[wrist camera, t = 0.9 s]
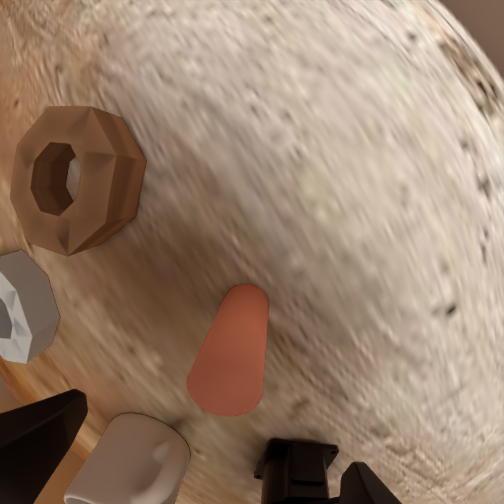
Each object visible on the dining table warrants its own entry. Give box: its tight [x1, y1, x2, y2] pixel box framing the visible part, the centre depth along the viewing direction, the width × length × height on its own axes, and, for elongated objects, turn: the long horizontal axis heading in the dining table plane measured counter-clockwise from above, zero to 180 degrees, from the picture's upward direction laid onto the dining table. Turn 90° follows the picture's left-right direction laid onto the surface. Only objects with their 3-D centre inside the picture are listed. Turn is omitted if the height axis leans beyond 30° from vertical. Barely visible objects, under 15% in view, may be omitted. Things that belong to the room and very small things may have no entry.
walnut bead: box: [10, 106, 147, 257], centre depth 17 cm, size 9×9×4 cm
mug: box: [64, 413, 190, 504], centre depth 18 cm, size 12×8×11 cm
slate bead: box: [0, 250, 60, 364], centre depth 20 cm, size 9×9×4 cm
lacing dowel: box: [187, 284, 269, 416], centre depth 15 cm, size 3×3×9 cm
